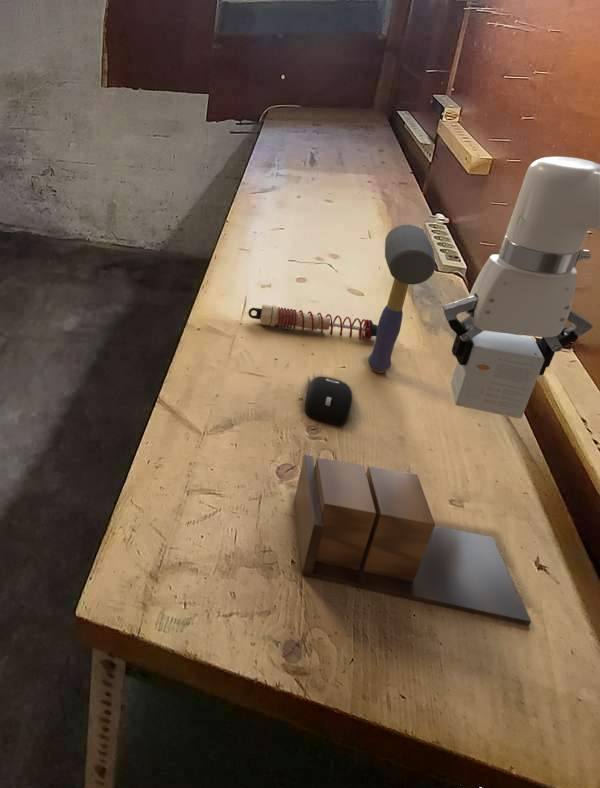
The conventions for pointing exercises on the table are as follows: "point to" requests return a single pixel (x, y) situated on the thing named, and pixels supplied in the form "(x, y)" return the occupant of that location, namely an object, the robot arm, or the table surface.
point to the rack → (395, 542)
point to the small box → (498, 374)
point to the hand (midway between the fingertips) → (496, 364)
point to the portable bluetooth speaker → (328, 400)
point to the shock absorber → (309, 320)
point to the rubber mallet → (400, 286)
